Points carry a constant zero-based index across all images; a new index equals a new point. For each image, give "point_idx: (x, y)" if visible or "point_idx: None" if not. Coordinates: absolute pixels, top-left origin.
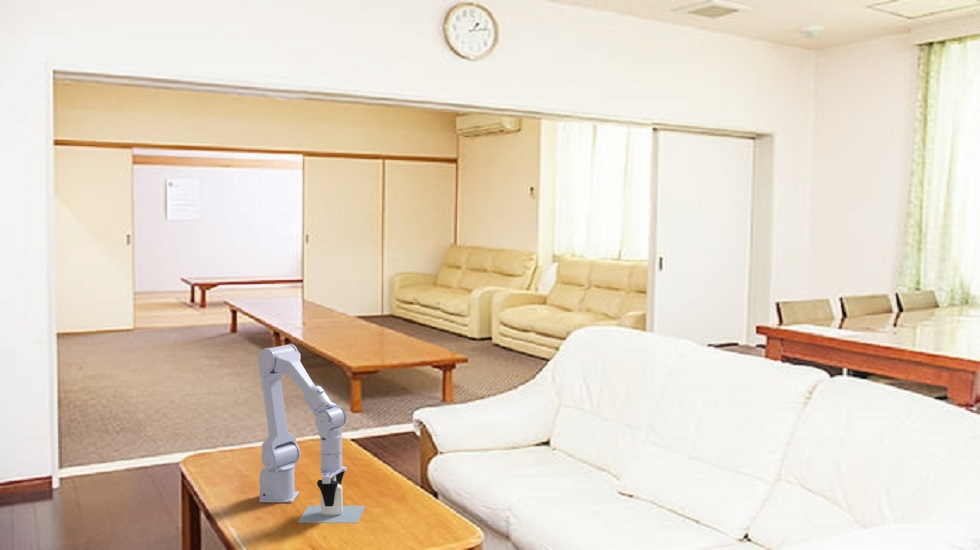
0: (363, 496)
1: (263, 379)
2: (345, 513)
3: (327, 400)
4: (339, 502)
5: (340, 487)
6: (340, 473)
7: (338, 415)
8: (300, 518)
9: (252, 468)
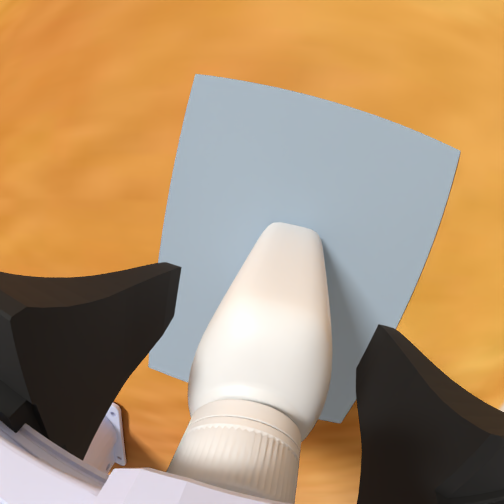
0: (67, 100)
1: None
2: (298, 203)
3: None
4: (325, 272)
5: (316, 327)
6: (51, 352)
7: None
8: None
9: None
